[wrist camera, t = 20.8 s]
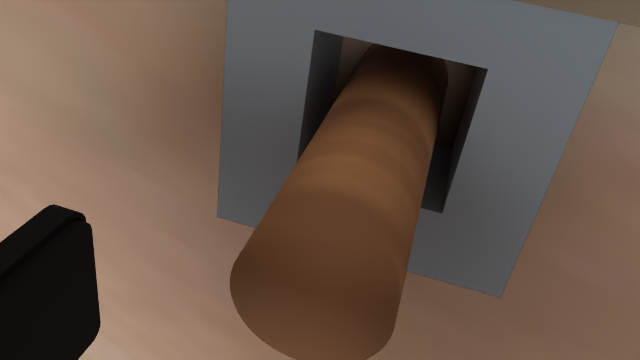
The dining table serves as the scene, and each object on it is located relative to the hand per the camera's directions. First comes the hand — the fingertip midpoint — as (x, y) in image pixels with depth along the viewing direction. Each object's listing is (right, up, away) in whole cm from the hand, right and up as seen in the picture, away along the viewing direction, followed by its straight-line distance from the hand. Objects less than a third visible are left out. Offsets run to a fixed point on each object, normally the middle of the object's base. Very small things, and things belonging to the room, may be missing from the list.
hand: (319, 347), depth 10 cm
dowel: (+3, +7, +10) cm, 13 cm away
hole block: (+3, +7, +10) cm, 13 cm away
